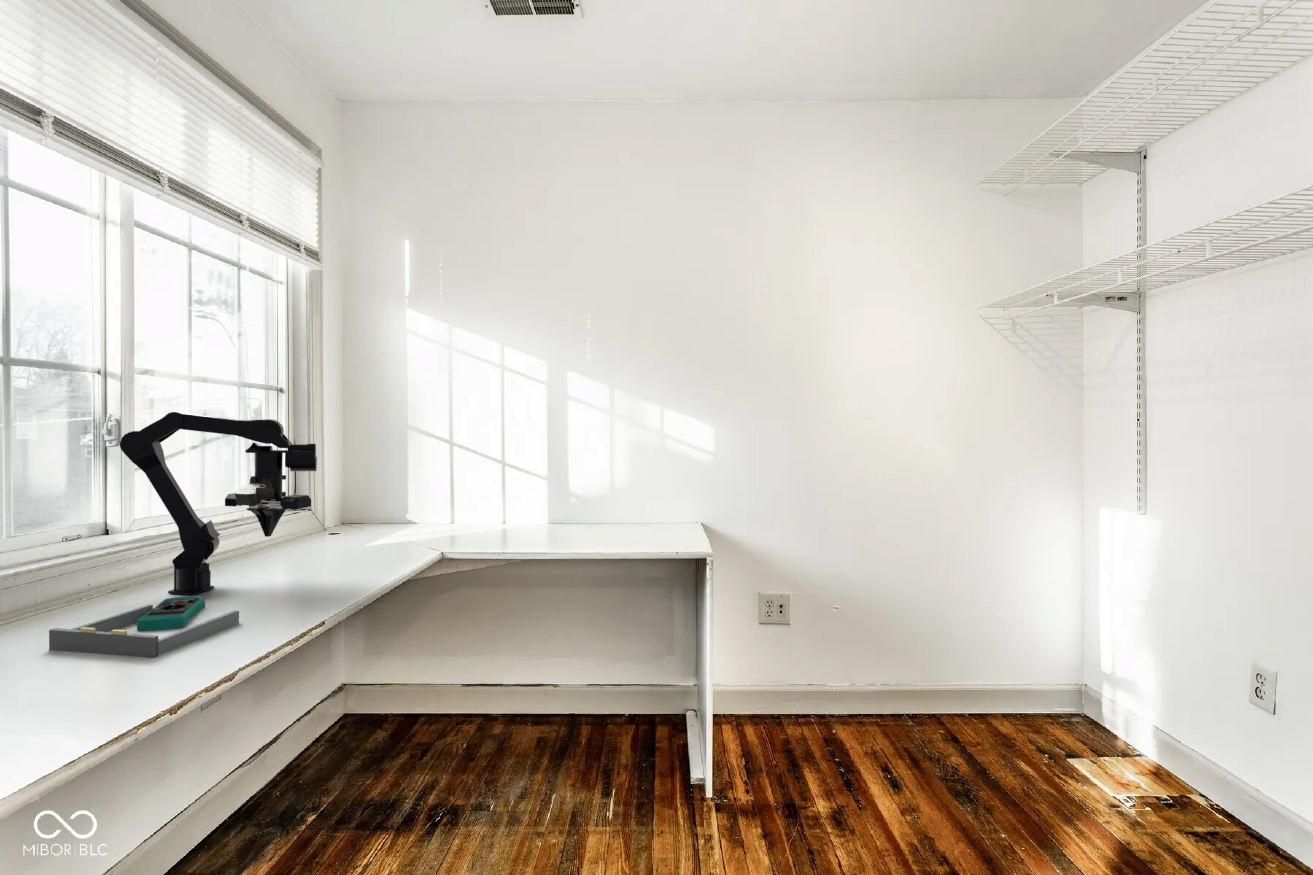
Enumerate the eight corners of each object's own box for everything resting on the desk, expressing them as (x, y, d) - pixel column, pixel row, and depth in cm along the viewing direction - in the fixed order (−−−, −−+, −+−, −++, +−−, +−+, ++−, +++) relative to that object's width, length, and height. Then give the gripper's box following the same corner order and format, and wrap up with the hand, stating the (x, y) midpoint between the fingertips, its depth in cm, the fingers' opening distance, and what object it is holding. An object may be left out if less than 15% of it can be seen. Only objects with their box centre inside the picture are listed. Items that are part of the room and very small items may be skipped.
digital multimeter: (206, 608, 142) (206, 594, 142) (183, 630, 128) (183, 614, 128) (164, 611, 140) (164, 596, 140) (135, 634, 125) (135, 618, 125)
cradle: (49, 649, 115) (49, 626, 115) (148, 616, 134) (148, 596, 134) (153, 657, 112) (153, 634, 112) (239, 622, 132) (239, 602, 132)
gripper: (206, 472, 152) (206, 540, 152) (281, 475, 150) (280, 544, 150) (242, 469, 163) (242, 532, 163) (313, 472, 161) (312, 536, 161)
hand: (268, 536), depth 159 cm, fingers closed
